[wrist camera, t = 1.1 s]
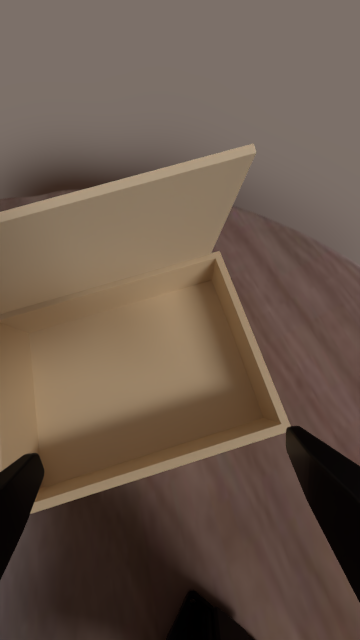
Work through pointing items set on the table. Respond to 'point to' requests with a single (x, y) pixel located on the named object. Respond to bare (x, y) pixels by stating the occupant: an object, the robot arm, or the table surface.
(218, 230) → the carton flap
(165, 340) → the carton
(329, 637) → the table surface
